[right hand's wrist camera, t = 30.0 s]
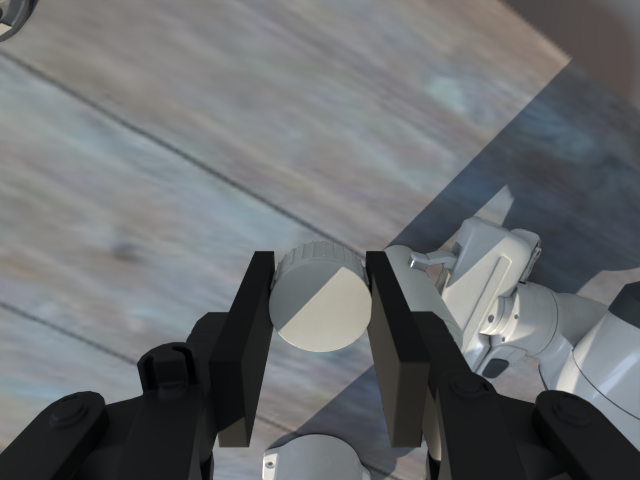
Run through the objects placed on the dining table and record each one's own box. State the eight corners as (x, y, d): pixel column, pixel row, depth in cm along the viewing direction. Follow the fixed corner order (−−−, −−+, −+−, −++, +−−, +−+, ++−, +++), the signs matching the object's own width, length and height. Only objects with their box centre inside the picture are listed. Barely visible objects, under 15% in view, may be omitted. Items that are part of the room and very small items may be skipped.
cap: (280, 328, 15) (275, 357, 14) (266, 244, 14) (258, 265, 12) (370, 320, 15) (376, 349, 14) (365, 235, 14) (371, 255, 12)
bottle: (409, 238, 48) (471, 336, 28) (422, 273, 50) (490, 388, 29) (370, 253, 49) (402, 359, 28) (384, 287, 51) (425, 409, 30)
